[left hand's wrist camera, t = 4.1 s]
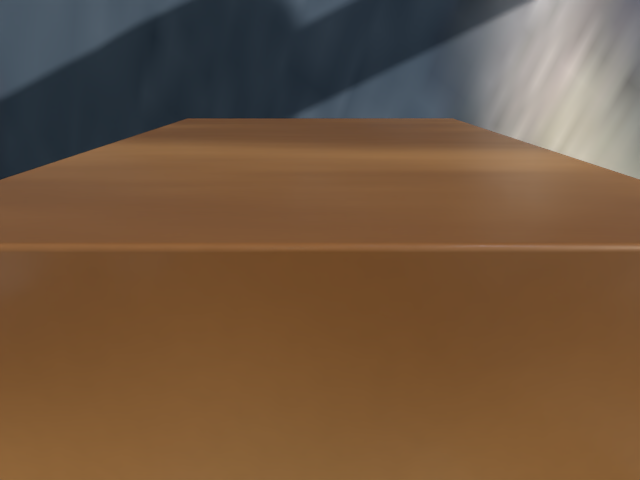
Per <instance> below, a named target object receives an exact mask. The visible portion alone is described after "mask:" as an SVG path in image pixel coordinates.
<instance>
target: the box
mask: <svg viewBox="0 0 640 480" xmlns="http://www.w3.org/2000/svg"><path fill="white" fill-rule="evenodd" d="M0 480H640V180H639V179H636V178H633V177H630V176H627V175H624V174H621V173H618V172H615V171H612V170H608V169H605V168H602V167H599V166H596V165H593V164H590V163H587V162H584V161H581V160H578V159H575V158H572V157H569V156H566V155H563V154H560V153H556V152H553V151H550V150H547V149H544V148H541V147H538V146H535V145H532V144H529V143H526V142H523V141H520V140H517V139H514V138H511V137H508V136H504V135H501V134H498V133H495V132H492V131H489V130H486V129H483V128H480V127H477V126H474V125H471V124H468V123H465V122H462V121H459V120H456V119H184V120H181V121H178V122H175V123H172V124H169V125H166V126H163V127H160V128H157V129H154V130H151V131H148V132H145V133H142V134H139V135H136V136H133V137H130V138H126V139H123V140H120V141H117V142H114V143H111V144H108V145H105V146H102V147H99V148H96V149H93V150H90V151H87V152H84V153H81V154H78V155H75V156H72V157H68V158H65V159H62V160H59V161H56V162H53V163H50V164H47V165H44V166H41V167H38V168H35V169H32V170H29V171H26V172H23V173H20V174H17V175H14V176H10V177H7V178H4V179H1V180H0Z"/></svg>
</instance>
